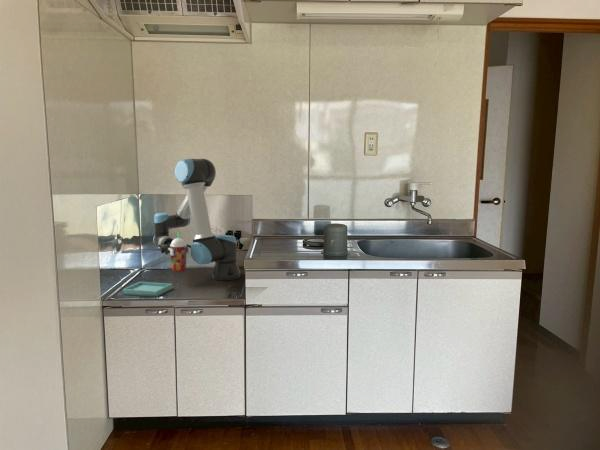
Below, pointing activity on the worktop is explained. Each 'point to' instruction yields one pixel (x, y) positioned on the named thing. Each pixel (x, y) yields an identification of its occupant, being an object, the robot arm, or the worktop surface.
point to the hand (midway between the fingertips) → (181, 251)
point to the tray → (147, 289)
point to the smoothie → (178, 254)
